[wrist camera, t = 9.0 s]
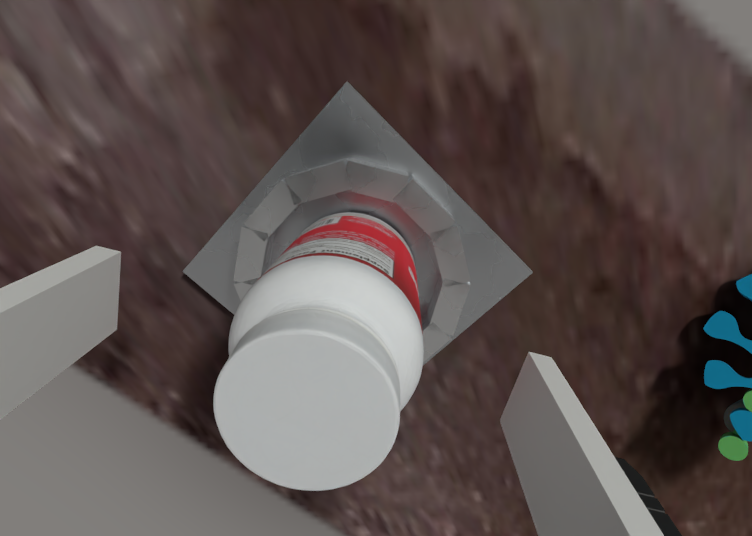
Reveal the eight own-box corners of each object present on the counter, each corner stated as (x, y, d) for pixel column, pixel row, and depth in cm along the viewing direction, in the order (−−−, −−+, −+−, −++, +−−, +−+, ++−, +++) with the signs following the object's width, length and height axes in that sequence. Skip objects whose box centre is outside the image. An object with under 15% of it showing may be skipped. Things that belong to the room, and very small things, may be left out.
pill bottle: (390, 346, 22) (379, 543, 12) (275, 306, 22) (160, 473, 12) (436, 235, 21) (471, 353, 10) (310, 189, 20) (212, 262, 10)
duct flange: (188, 267, 22) (167, 282, 20) (348, 82, 19) (342, 78, 17) (359, 412, 25) (356, 438, 23) (529, 268, 21) (542, 283, 19)
